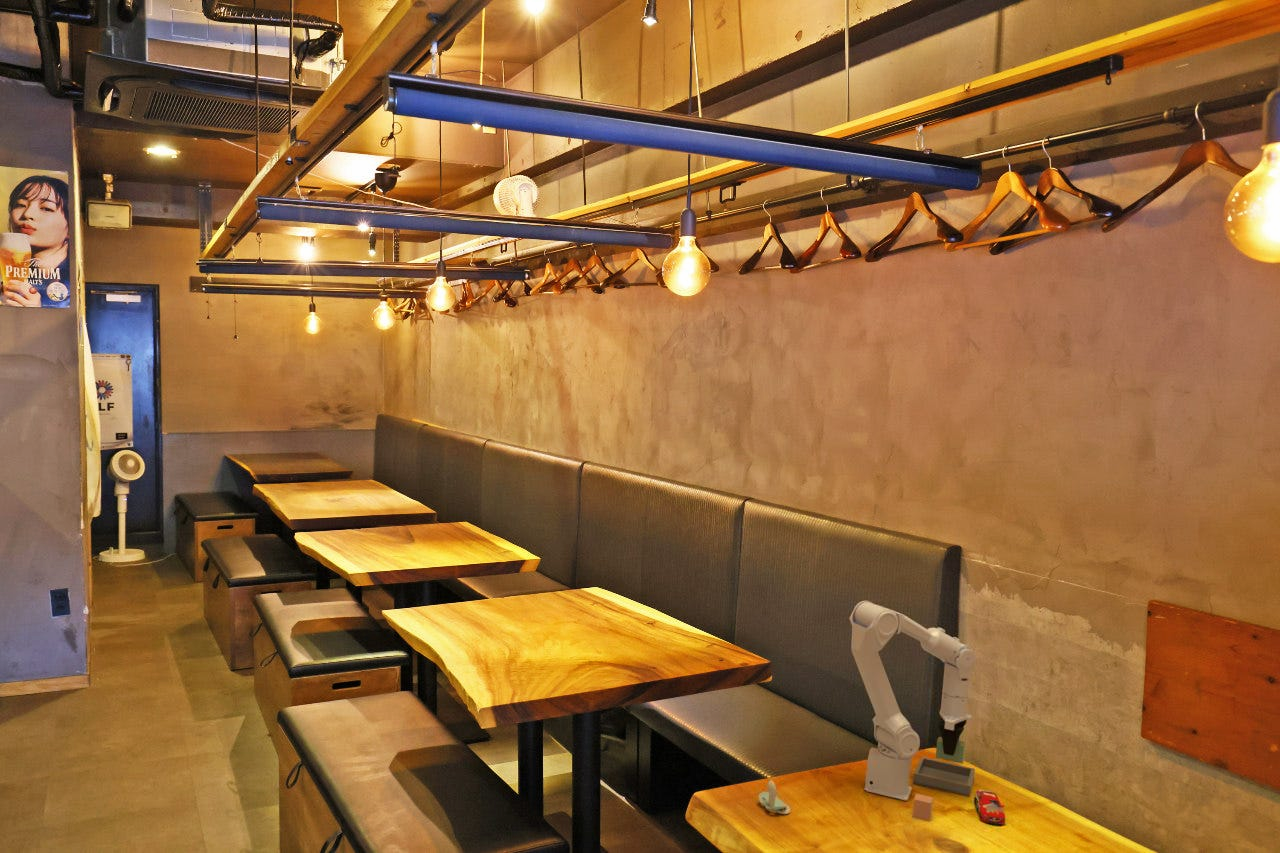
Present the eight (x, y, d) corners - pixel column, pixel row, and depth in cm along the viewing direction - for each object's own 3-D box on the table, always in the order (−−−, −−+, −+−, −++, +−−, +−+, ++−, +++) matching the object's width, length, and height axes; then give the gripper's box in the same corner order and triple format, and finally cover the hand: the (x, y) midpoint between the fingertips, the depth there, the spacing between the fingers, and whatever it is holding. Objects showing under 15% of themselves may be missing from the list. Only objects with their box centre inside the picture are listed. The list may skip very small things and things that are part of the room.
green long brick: (935, 757, 222) (937, 740, 222) (937, 753, 225) (939, 736, 225) (962, 763, 220) (964, 746, 219) (964, 759, 223) (965, 742, 223)
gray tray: (912, 784, 223) (913, 773, 223) (920, 766, 235) (921, 756, 235) (969, 797, 218) (970, 786, 218) (973, 779, 230) (974, 768, 229)
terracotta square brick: (912, 817, 204) (914, 799, 204) (914, 811, 207) (916, 793, 207) (929, 821, 203) (931, 803, 203) (931, 815, 206) (933, 797, 206)
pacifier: (779, 802, 207) (754, 802, 205) (783, 773, 207) (758, 774, 205) (795, 817, 200) (770, 817, 198) (799, 787, 200) (773, 788, 198)
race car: (1006, 829, 203) (1008, 811, 203) (979, 825, 204) (981, 806, 204) (997, 804, 216) (999, 787, 216) (972, 800, 217) (974, 783, 217)
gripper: (970, 705, 214) (964, 765, 214) (976, 689, 227) (970, 746, 227) (937, 699, 217) (932, 758, 217) (945, 684, 230) (940, 739, 230)
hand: (949, 751), depth 222 cm, fingers closed on green long brick, 3 cm apart
